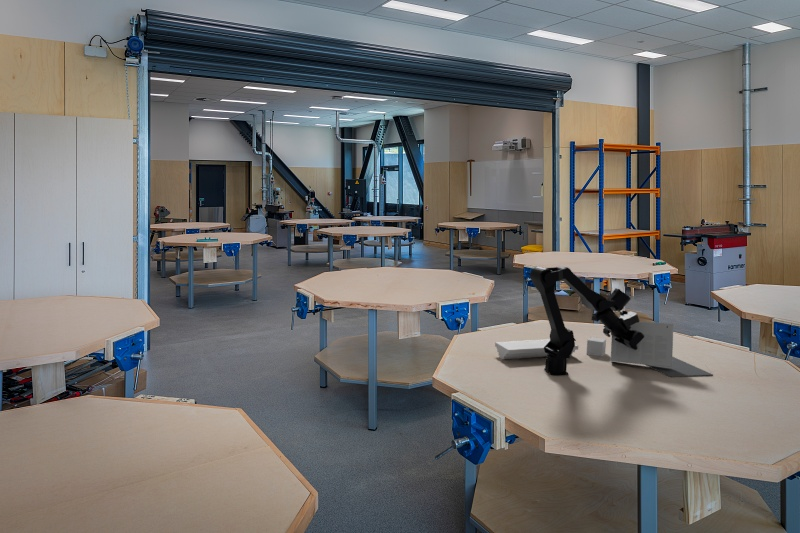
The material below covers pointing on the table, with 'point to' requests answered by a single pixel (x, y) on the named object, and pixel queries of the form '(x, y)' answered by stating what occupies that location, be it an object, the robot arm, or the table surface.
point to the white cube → (596, 346)
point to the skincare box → (647, 346)
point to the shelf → (523, 349)
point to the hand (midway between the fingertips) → (636, 349)
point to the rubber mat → (680, 369)
